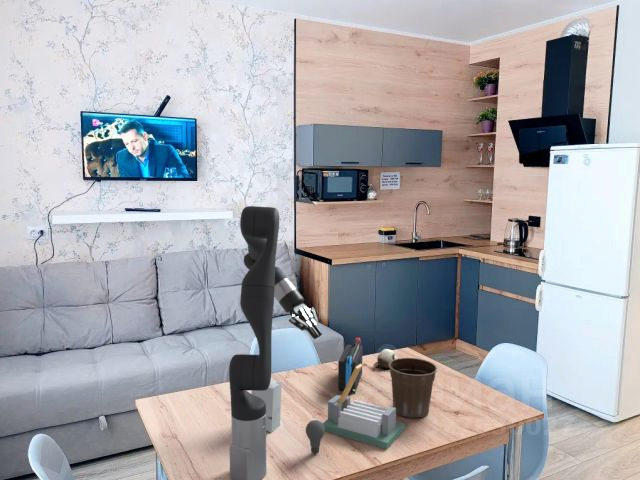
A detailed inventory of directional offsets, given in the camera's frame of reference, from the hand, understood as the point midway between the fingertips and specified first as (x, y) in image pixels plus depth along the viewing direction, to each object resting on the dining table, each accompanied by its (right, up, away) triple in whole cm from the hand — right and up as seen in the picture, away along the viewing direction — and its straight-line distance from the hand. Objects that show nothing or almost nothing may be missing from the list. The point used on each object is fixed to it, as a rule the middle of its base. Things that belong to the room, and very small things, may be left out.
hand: (318, 336), depth 174 cm
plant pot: (+32, -27, +9) cm, 43 cm away
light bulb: (-1, -31, -19) cm, 36 cm away
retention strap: (+10, -15, -4) cm, 19 cm away
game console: (+12, -24, +33) cm, 43 cm away
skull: (+29, -22, +50) cm, 62 cm away
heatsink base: (+14, -29, -5) cm, 33 cm away
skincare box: (-17, -29, -3) cm, 33 cm away
